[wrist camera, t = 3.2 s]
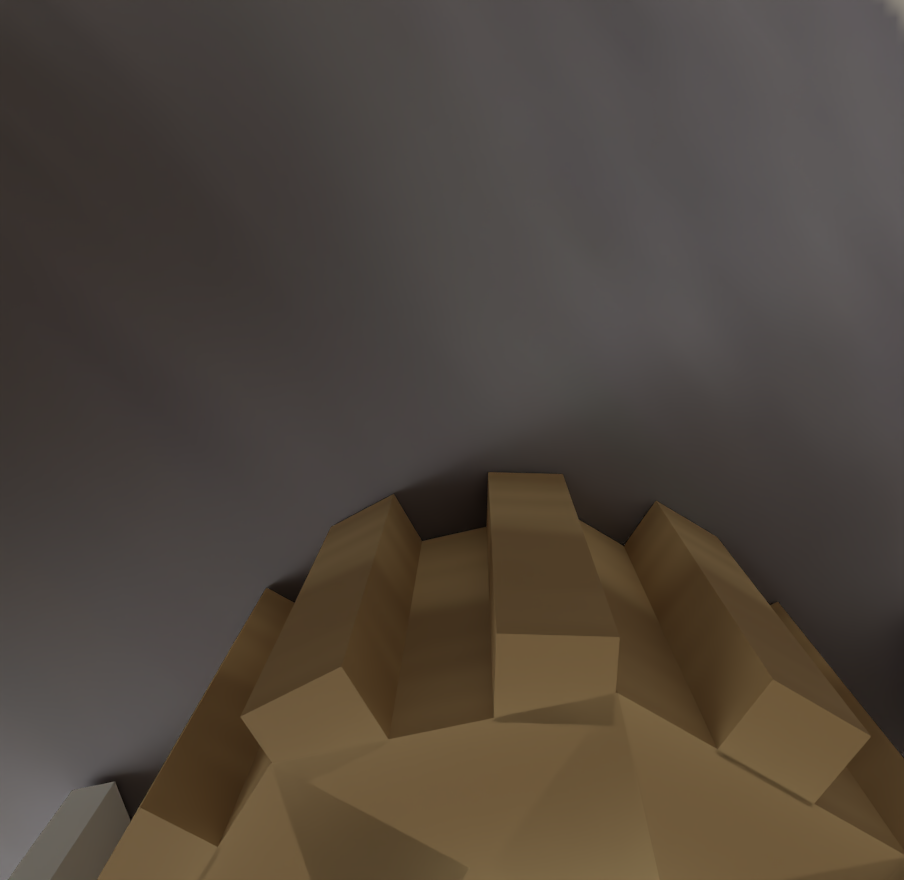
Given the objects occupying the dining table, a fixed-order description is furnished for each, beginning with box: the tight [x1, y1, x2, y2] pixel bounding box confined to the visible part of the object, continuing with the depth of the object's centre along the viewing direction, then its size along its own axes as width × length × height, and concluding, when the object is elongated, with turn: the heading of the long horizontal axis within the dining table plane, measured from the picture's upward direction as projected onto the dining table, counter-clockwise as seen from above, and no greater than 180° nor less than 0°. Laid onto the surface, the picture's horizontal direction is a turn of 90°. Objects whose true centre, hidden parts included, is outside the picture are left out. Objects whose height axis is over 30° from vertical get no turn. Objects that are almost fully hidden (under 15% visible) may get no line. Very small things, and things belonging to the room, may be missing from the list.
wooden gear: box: [97, 472, 904, 880], centre depth 11 cm, size 10×10×5 cm
